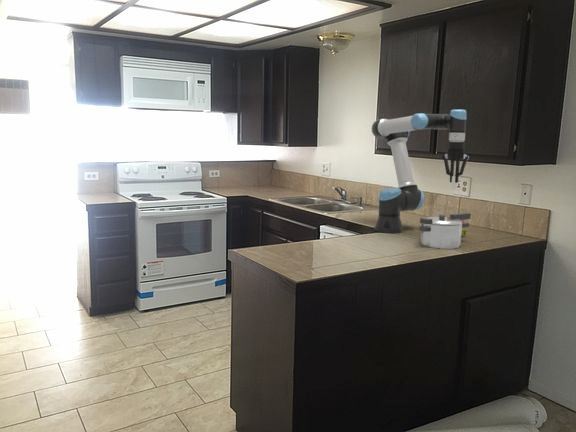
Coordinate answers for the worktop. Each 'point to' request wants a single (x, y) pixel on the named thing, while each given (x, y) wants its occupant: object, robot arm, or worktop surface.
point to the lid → (446, 219)
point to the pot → (441, 235)
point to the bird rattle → (463, 230)
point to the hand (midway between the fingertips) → (453, 189)
